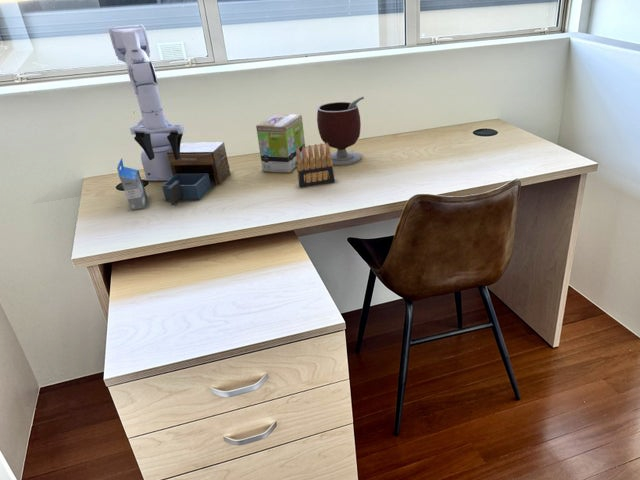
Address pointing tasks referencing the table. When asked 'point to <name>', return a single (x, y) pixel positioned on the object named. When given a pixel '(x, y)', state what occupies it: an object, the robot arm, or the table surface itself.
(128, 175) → the label tape box
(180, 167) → the drawer pedestal
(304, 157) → the ammunition clip
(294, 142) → the tea box
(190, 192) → the storage box
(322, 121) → the mate gourd
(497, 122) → the table surface
